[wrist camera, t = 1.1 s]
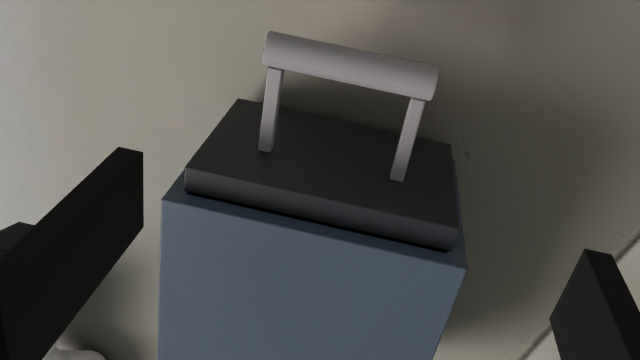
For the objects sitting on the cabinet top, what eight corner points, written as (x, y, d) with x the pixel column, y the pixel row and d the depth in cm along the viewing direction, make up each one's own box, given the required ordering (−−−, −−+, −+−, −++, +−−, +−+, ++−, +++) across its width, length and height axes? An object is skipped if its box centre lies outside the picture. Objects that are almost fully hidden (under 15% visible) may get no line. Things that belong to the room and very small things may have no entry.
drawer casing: (229, 109, 31) (160, 198, 23) (455, 159, 30) (467, 269, 22) (212, 303, 38) (155, 424, 30) (392, 346, 38) (385, 481, 29)
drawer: (247, -5, 27) (190, 39, 20) (483, 44, 26) (504, 107, 20) (219, 289, 36) (173, 385, 30) (391, 329, 36) (384, 437, 29)
